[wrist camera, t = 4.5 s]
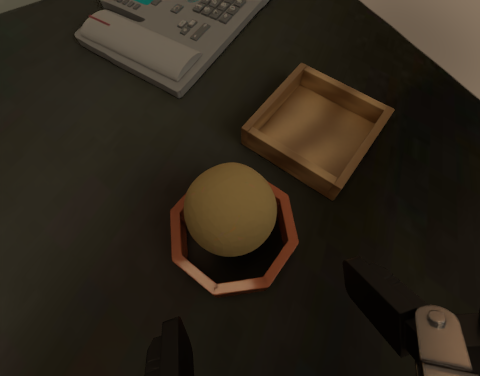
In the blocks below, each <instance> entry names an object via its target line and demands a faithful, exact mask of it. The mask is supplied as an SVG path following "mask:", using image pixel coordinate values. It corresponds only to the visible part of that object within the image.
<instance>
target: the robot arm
mask: <svg viewBox="0 0 480 376" xmlns="http://www.w3.org/2000/svg"><path fill="white" fill-rule="evenodd" d="M343 271H344V280H345V287H346V290H347V293H348V295H349V296H350V298H351V299H352V300H353V302H354V303H355V304H356V305H357V306H358V308H359V309H360V310H361V311H362V312H363V313H364V315H365V316H366V317H367V318H368V319H369V321H370V322H371V323H372V324H373V325H374V326H375V328H376V329H377V330H378V331H379V332H380V334H381V335H382V336H383V337H384V338H385V339H386V341H387V342H388V343H389V344H390V345H391V347H392V348H393V349H394V350H395V351H396V352H397V354H398V355H399V356H400V357H401V358H402V357H404V356H407V355H409V354H410V355H411V356H412V357H413V358H414V359H415V368H416V376H480V308H479V313H471V314H453V313H452V312H450V311H449V310H447V309H445V308H442V307H439V306H435V305H428V304H427V303H426V302H425V301H424V300H422V299H421V298H420V297H419V296H418V295H416V294H415V293H414V292H413V291H412V290H411V289H409V288H408V287H407V286H406V285H405V284H403V283H402V282H400V280H399V279H397V278H396V277H395V276H393V274H392V273H390V272H389V271H388V270H387V269H386V268H384V267H382V266H380V265H377V264H375V263H371V264H368V263H367V262H366V261H365V260H363V259H362V258H361V257H360V256H356V257H353V258H350V259H347V260H344V261H343ZM145 376H194V365H193V352H192V347H191V343H190V340H189V337H188V335H187V332H186V330H185V327H184V325H183V322H182V320H181V318H180V317H176V318H173V319H170V320H167V321H164V322H163V324H162V336H159V337H156V338H153V340H152V342H151V344H150V346H149V348H148V350H147V359H146V367H145Z"/></svg>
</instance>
